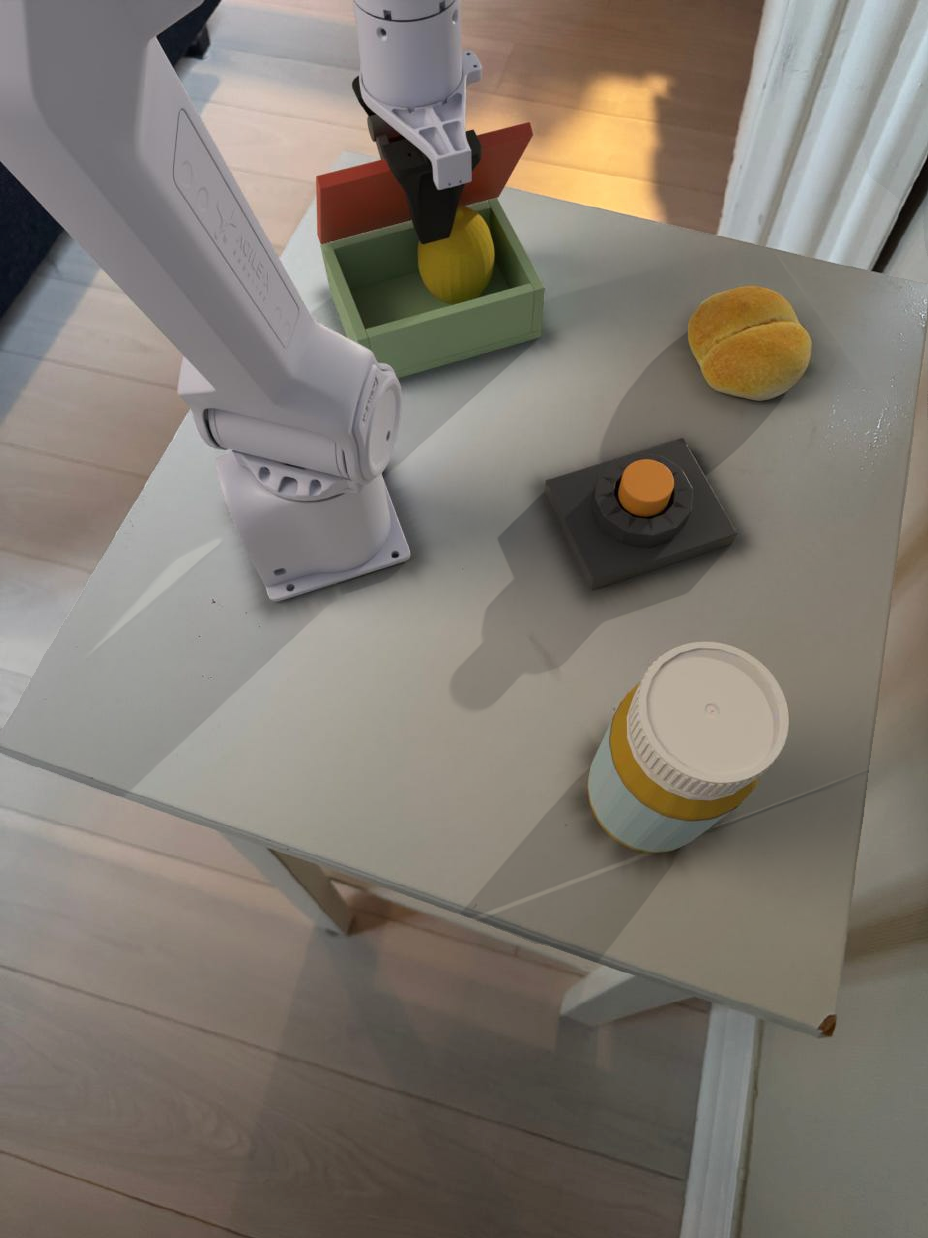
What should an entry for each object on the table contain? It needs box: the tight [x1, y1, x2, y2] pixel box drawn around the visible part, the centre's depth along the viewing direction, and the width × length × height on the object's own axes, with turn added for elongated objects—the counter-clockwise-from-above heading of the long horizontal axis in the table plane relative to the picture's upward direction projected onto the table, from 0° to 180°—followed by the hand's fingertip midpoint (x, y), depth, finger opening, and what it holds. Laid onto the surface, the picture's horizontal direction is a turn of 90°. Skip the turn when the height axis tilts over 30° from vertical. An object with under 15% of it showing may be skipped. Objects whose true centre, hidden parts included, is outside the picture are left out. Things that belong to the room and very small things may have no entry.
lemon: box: [418, 205, 495, 304], centre depth 60 cm, size 6×6×8 cm
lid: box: [315, 114, 534, 245], centre depth 55 cm, size 10×14×4 cm
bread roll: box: [687, 285, 813, 402], centre depth 59 cm, size 8×9×4 cm
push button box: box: [544, 437, 738, 591], centre depth 54 cm, size 10×8×3 cm
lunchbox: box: [319, 198, 546, 380], centre depth 61 cm, size 10×14×5 cm
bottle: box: [586, 641, 790, 854], centre depth 41 cm, size 7×7×15 cm
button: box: [618, 459, 674, 517], centre depth 52 cm, size 3×3×2 cm
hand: (423, 213), depth 56 cm, fingers closed on lid, 4 cm apart
